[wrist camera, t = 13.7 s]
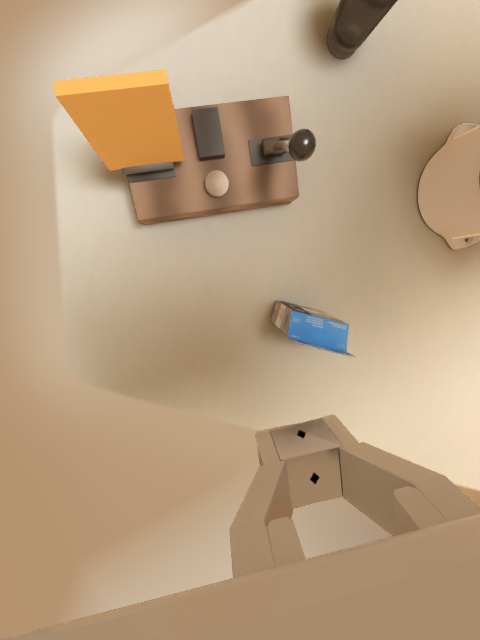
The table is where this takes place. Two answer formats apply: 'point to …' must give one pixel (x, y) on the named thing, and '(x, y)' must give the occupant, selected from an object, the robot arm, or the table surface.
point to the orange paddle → (125, 119)
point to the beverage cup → (354, 24)
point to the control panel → (221, 164)
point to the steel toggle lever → (291, 145)
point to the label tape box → (311, 327)
